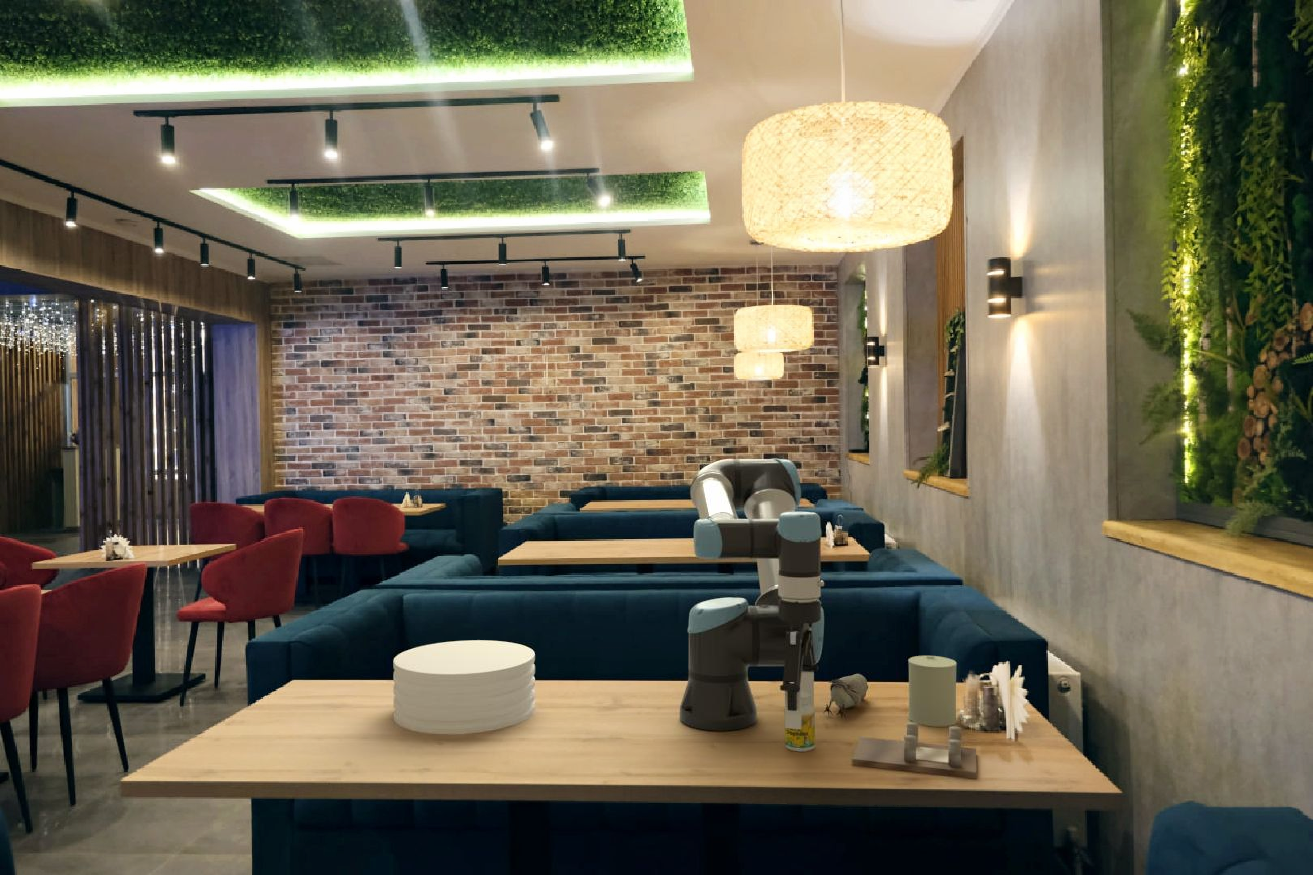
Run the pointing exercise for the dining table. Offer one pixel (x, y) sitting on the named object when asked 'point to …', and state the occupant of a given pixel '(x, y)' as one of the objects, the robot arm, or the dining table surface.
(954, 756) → the pin nest
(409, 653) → the plate stack
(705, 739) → the dining table surface
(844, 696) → the decorative bird
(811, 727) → the supplement bottle
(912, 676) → the can
